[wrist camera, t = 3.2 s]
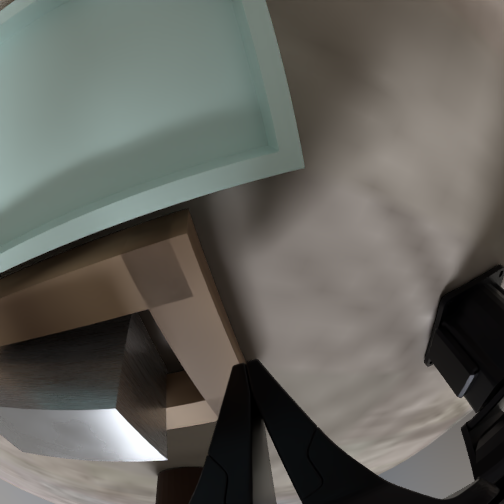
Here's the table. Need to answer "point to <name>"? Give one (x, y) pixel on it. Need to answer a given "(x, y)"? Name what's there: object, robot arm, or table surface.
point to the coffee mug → (177, 485)
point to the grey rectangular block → (86, 393)
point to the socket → (136, 305)
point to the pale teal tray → (132, 112)
